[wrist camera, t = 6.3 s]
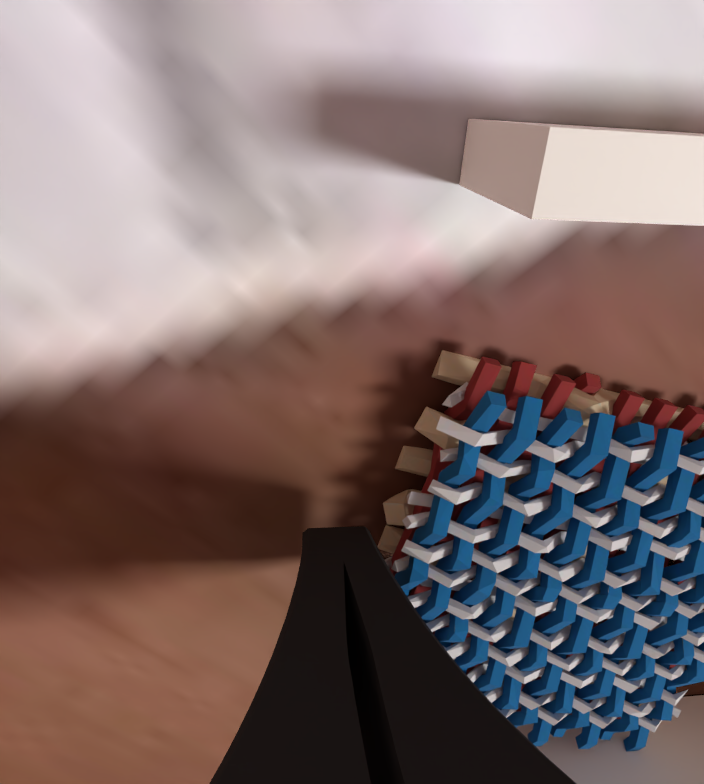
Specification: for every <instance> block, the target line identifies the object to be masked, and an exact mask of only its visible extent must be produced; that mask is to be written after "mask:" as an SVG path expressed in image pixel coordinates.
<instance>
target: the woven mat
mask: <svg viewBox="0 0 704 784" xmlns="http://www.w3.org/2000/svg"><path fill="white" fill-rule="evenodd" d="M536 367H537V366H536V365H532V364H529V363H525V362H519V361H513V364H512V367H509V366H505V365H501V364H500V363H499V361H498V360H496V359H491V358H487V357H483V356H482V358H481V359H477V358H473V357H469V356H465V355H461V354H457V353H452V352H448V351H444V350H442V352H441V354H440V357H439V359H438V361H437V364H436V366H435V369H434V372H433V374H432V377H433V378H436V379H440V380H443V381H446V382H449V383H453V384H456V385H459V386H461V387H459V388H458V389H457V390H456V391H454V392H453V393H452V394H450V395H449V396H448V398H447V399H446V400H445V401H444V403H443V404H442V405H444V406H448V407H449V408H448V409H447V410H446V411H445V412H444V414H443V413H440V412H438V411H436V410H433V409H431V408H429V407H426V408H425V410H424V411H423V413H422V415H421V417H420V418H419V420H418V422H417V424H416V426H415V427H414V429H416V430H417V431H418V432H420V433H421V434H423V435H424V436H426V437H427V438H429V439H430V440H431V441H433V442H434V447H433V450H429V449H424V448H419V447H411V446H403V448H402V451H401V453H400V456H399V459H398V461H397V464H396V467H395V469H398V470H402V471H406V472H410V473H414V474H418V475H422V476H426V477H427V479H426V481H425V484H424V486H423V488H422V490H421V491H420V490H414V489H408V490H405V491H403V492H401V493H399V494H397V495H394V496H393V497H391V498H390V499H388V500H386V501H385V502H383V507H384V512H385V517H386V522H387V525H386V526H385V529H384V531H383V533H382V536H381V538H380V541H379V543H378V549H380V550H383V551H386V552H389V553H391V554H393V556H391V557H389V558H387V559H385V562H386V564H387V565H388V567H389V569H390V570H391V572H392V574H393V575H394V577H395V579H396V580H397V582H398V583H399V585H400V587H401V588H402V590H403V591H404V593H405V594H406V596H407V597H408V599H409V600H410V602H411V603H412V605H413V606H414V608H415V609H416V611H417V612H418V614H419V615H420V616H421V618H422V619H423V621H424V622H425V623H426V625H427V626H428V627H429V629H430V630H431V631H432V633H433V634H434V635H435V637H436V638H437V639H438V641H439V642H440V643H441V645H442V646H443V647H444V648H445V650H446V651H447V652H448V653H449V655H450V656H451V657H452V658H453V660H454V661H455V662H456V663H457V664H458V666H459V667H460V668H461V669H462V670H463V672H464V673H465V674H466V675H467V676H468V677H469V678H470V680H471V681H472V682H473V683H474V684H475V685H476V686H477V688H478V689H479V690H480V691H481V692H482V693H483V694H484V695H485V696H486V697H487V698H488V699H489V701H490V702H491V703H492V704H493V705H494V706H495V707H496V708H497V709H498V710H499V711H500V712H501V713H502V714H503V715H504V716H505V717H506V718H507V719H508V720H509V721H510V722H511V723H512V724H513V725H514V726H515V727H516V728H517V726H522V725H527V724H533V723H534V725H533V730H532V731H531V732H529V733H528V734H527V735H528V740H530V741H531V742H532V743H533V744H534V745H535V746H542V745H543V744H545V743H546V742H548V739H549V735H550V733H551V735H552V736H553V737H563V735H564V733H565V732H566V730H567V729H574V728H580V727H583V728H582V733H581V734H579V735H578V736H576V737H575V738H576V742H577V746H578V749H590V748H592V747H593V746H595V745H597V742H598V738H600V739H602V740H610V739H611V737H612V735H613V734H614V733H618V732H626V731H630V735H629V736H628V737H627V738H626V739H624V740H623V742H624V745H625V749H626V752H627V751H639V750H640V749H642V748H644V747H645V746H646V742H647V739H648V735H649V731H652V732H655V731H656V729H657V727H658V726H659V724H660V723H661V721H662V720H667V721H671V720H672V715H673V716H675V717H677V718H678V716H679V715H680V713H681V710H680V709H678V708H677V707H675V705H676V704H677V703H678V702H679V700H680V699H681V698H682V697H683V696H684V694H685V693H686V692H687V691H688V690H689V689H688V690H685V691H682V692H679V693H676V687H680V686H685V685H689V684H694V683H699V682H704V410H703V409H702V408H699V407H695V406H691V405H687V406H686V407H685V408H680V407H677V406H675V405H674V404H672V403H671V402H669V401H668V400H663V399H659V398H654V400H653V401H651V400H646V399H645V398H643V397H642V396H640V395H639V394H637V393H636V392H632V391H627V390H623V389H622V391H621V392H620V393H617V392H612V391H608V390H604V389H601V383H600V378H599V376H598V375H594V374H590V373H584V374H582V375H581V376H579V377H578V378H576V379H575V380H572V379H570V378H569V377H568V376H563V375H558V374H553V376H552V377H548V376H544V375H541V374H537V373H535V370H536ZM687 439H689V440H693V442H691V443H687V442H686V441H687ZM601 472H602V474H601ZM458 486H460V487H458ZM389 525H404V526H405V529H400V528H397V527H393V526H389ZM618 550H621V551H619V552H617V551H618ZM670 559H672V560H676V559H677V560H676V561H675V562H674V563H673V565H671V566H668V567H666V566H667V564H668V562H669V560H670ZM409 590H412V591H411V593H410V595H409ZM408 595H409V596H408ZM602 620H603V621H602ZM600 621H602V622H600ZM448 625H449V627H448ZM470 635H471V636H470ZM686 669H687V670H686ZM675 693H676V694H675ZM592 700H593V701H592ZM515 711H516V712H515ZM652 719H654V720H653V721H652Z"/></svg>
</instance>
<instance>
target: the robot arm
mask: <svg viewBox="0 0 704 784" xmlns="http://www.w3.org/2000/svg"><path fill="white" fill-rule="evenodd" d="M210 784H576V783H575V782H574V781H573V780H572V779H571V778H570V777H569V776H567V775H566V774H565V773H564V772H563V771H562V770H561V769H560V768H558V767H557V766H556V765H555V764H554V763H553V762H552V761H550V760H549V759H548V758H547V757H546V756H545V755H544V754H543V753H542V752H541V751H540V750H539V749H538V748H537V747H536V746H535V745H534V744H533V743H532V742H531V741H530V740H528V739H527V738H526V737H525V736H524V735H523V734H522V733H521V732H520V731H519V730H518V729H517V728H516V727H515V726H514V725H513V724H512V723H511V722H510V721H509V720H508V719H507V718H506V717H505V716H504V715H503V714H502V713H501V712H500V711H499V710H498V709H497V708H496V707H495V706H494V705H493V704H492V703H491V702H490V701H489V699H488V698H487V697H486V696H485V695H484V694H483V693H482V692H481V691H480V690H479V689H478V688H477V686H476V685H475V684H474V683H473V682H472V681H471V680H470V678H469V677H468V676H467V675H466V674H465V673H464V672H463V670H462V669H461V668H460V667H459V666H458V664H457V663H456V662H455V661H454V660H453V658H452V657H451V656H450V655H449V653H448V652H447V651H446V650H445V648H444V647H443V646H442V645H441V643H440V642H439V641H438V639H437V638H436V637H435V635H434V634H433V633H432V631H431V630H430V629H429V627H428V626H427V625H426V623H425V622H424V621H423V619H422V618H421V616H420V615H419V614H418V612H417V611H416V609H415V608H414V606H413V605H412V603H411V602H410V600H409V599H408V597H407V596H406V594H405V593H404V591H403V590H402V588H401V587H400V585H399V583H398V582H397V580H396V579H395V577H394V575H393V574H392V572H391V570H390V569H389V567H388V565H387V564H386V562H385V560H384V558H383V557H382V555H381V553H380V551H379V549H378V547H377V546H376V544H375V542H374V540H373V538H372V535H371V533H370V531H369V530H368V529H367V528H366V527H365V526H357V527H332V528H308V529H307V530H306V531H304V532H303V537H302V556H301V562H300V567H299V572H298V576H297V581H296V585H295V588H294V592H293V595H292V599H291V602H290V606H289V609H288V613H287V616H286V619H285V622H284V624H283V627H282V630H281V633H280V635H279V638H278V641H277V644H276V647H275V649H274V652H273V655H272V657H271V660H270V662H269V665H268V667H267V669H266V672H265V674H264V676H263V679H262V681H261V683H260V686H259V688H258V690H257V692H256V695H255V697H254V699H253V701H252V703H251V705H250V707H249V710H248V712H247V714H246V716H245V718H244V720H243V722H242V724H241V726H240V728H239V730H238V732H237V734H236V736H235V738H234V740H233V742H232V744H231V746H230V748H229V749H228V751H227V753H226V755H225V757H224V759H223V761H222V763H221V764H220V766H219V768H218V770H217V771H216V773H215V775H214V777H213V778H212V780H211V782H210Z"/></svg>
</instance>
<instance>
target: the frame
mask: <svg viewBox="0 0 704 784" xmlns="http://www.w3.org/2000/svg"><path fill="white" fill-rule="evenodd" d="M459 185H460V186H463V187H465V188H467V189H469V190H471V191H473V192H475V193H477V194H480V195H482V196H484V197H486V198H488V199H490V200H492V201H494V202H497V203H499V204H501V205H503V206H505V207H507V208H509V209H511V210H514V211H516V212H518V213H520V214H522V215H524V216H526V217H528V218H531V219H544V220H570V221H596V222H622V223H647V224H673V225H699V226H704V134H702V133H687V132H671V131H655V130H639V129H624V128H608V127H592V126H576V125H560V124H545V123H529V122H513V121H497V120H482V119H468V126H467V133H466V140H465V147H464V154H463V161H462V168H461V176H460V183H459ZM675 707H677V708H678V709H680V710H681V713H680V715H679V716H678V718H677V717H675V716H673V715H672V720H671V721H667V720H662V721H661V723H660V724H659V726H658V727H657V729H656V731H655V732H652V731H649V735H648V739H647V742H646V746H645V747H644V748H642V749H640V750H639V751H627V752H626V749H625V745H624V742H623V740H624V739H626V738H627V737H628V736H629V735H630V731H626V732H618V733H614V734H613V735H612V737H611V739H610V740H602V739H600V738H598V742H597V745H595V746H593V747H592V748H590V749H578V746H577V742H576V738H575V737H576V736H578V735H579V734H581V733H582V728H583V727H580V728H574V729H567V730H566V732H565V733H564V735H563V737H553V736H552V735H551V733H550V735H549V739H548V742H546V743H545V744H543V745H542V746H536V747H537V748H538V749H539V750H540V751H541V752H542V753H543V754H544V755H545V756H546V757H547V758H548V759H549V760H550V761H552V762H553V763H554V764H555V765H556V766H557V767H558V768H560V769H561V770H562V771H563V772H564V773H565V774H566V775H567V776H569V777H570V778H571V779H572V780H573V781H574V782H575V783H576V784H704V695H698V696H687V697H682V698H681V699H680V700H679V702H678V703H677V704H676V705H675ZM515 712H516V711H515ZM653 720H654V719H652V721H653ZM533 725H534V723H533V724H527V725H522V726H517V729H518V730H519V731H520V732H521V733H522V734H523V735H524V736H525V737H526V738H527V739H528V735H527V734H528V733H529V732H531V731H532V730H533Z"/></svg>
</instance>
